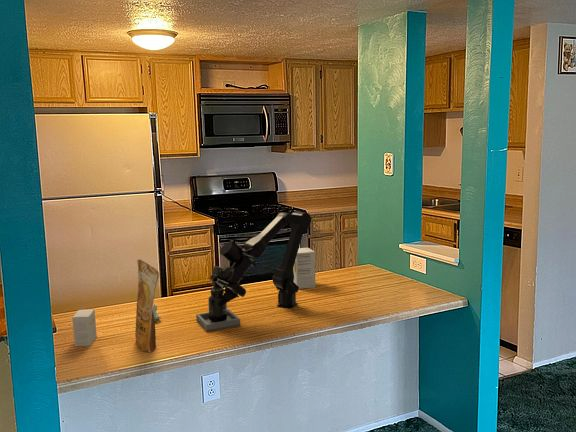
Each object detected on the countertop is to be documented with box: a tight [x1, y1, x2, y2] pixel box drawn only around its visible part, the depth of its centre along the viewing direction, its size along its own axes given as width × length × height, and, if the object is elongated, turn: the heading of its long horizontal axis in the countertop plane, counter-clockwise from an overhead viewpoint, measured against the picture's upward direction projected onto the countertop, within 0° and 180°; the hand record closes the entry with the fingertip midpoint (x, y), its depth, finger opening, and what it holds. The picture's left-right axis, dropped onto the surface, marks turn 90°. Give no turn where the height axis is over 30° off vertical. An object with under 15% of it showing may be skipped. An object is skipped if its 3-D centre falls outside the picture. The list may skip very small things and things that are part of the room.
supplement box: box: [293, 247, 316, 290], centre depth 250 cm, size 10×9×17 cm
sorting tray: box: [195, 308, 241, 332], centre depth 205 cm, size 13×13×2 cm
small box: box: [72, 308, 98, 347], centre depth 189 cm, size 8×6×10 cm
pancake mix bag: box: [134, 259, 160, 353], centre depth 185 cm, size 7×19×28 cm, turn 26°
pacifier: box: [152, 303, 162, 322], centre depth 210 cm, size 7×6×6 cm
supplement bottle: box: [207, 287, 228, 322], centre depth 205 cm, size 7×7×12 cm
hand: (214, 303), depth 204 cm, fingers closed on supplement bottle, 6 cm apart
